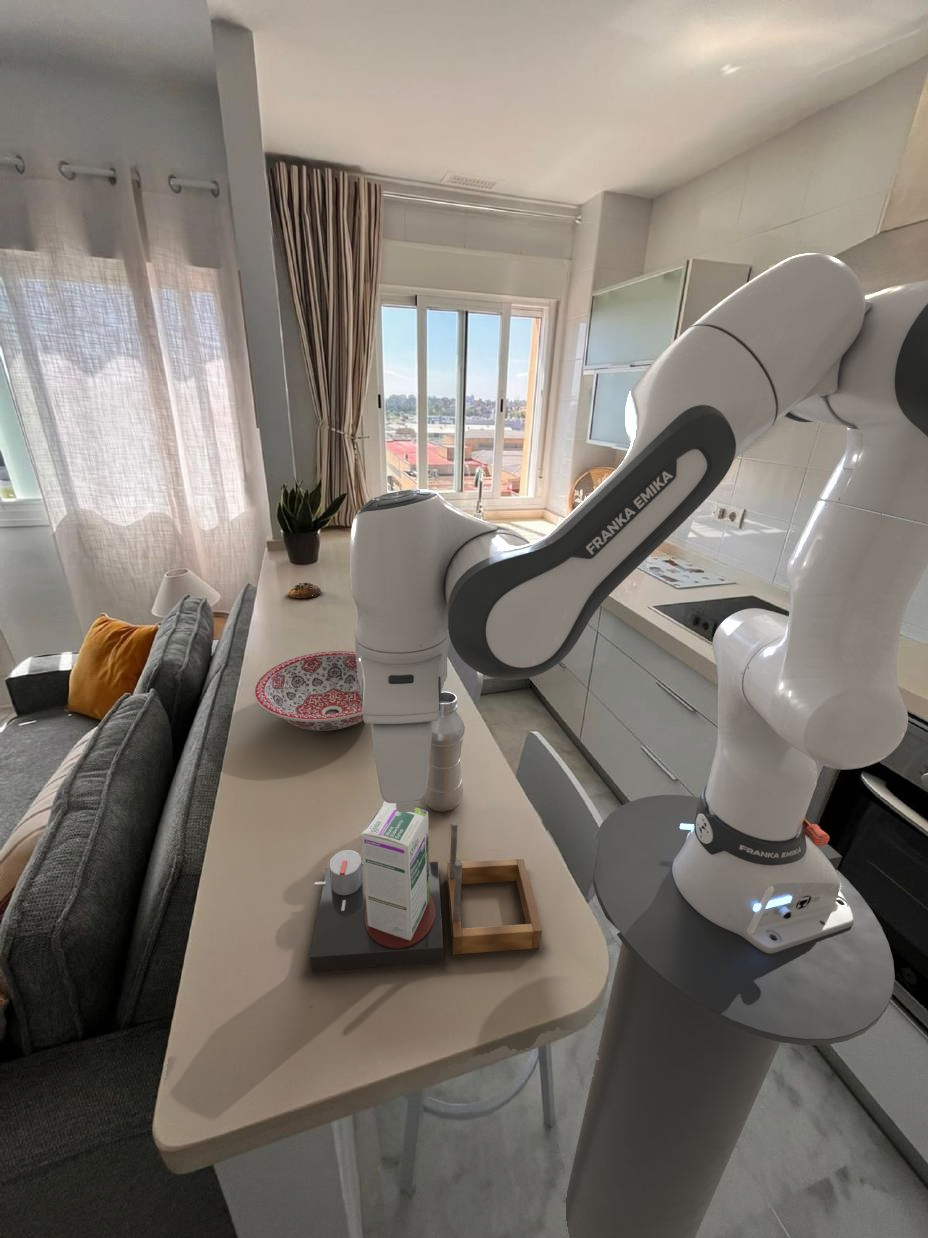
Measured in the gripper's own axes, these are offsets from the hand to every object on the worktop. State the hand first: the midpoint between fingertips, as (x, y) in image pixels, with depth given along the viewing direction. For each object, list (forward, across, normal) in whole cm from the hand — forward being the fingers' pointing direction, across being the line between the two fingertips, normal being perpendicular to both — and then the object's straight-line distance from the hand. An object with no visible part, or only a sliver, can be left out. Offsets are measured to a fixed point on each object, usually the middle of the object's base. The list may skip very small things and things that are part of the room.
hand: (406, 775), depth 53 cm
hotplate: (+20, +1, -1) cm, 20 cm away
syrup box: (+20, +1, -1) cm, 20 cm away
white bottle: (+23, -21, +5) cm, 32 cm away
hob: (+23, -1, -4) cm, 23 cm away
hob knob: (+20, -5, -8) cm, 22 cm away
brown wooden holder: (+23, -1, +10) cm, 25 cm away
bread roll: (+22, -128, -37) cm, 135 cm away
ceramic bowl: (+23, -49, -17) cm, 57 cm away
